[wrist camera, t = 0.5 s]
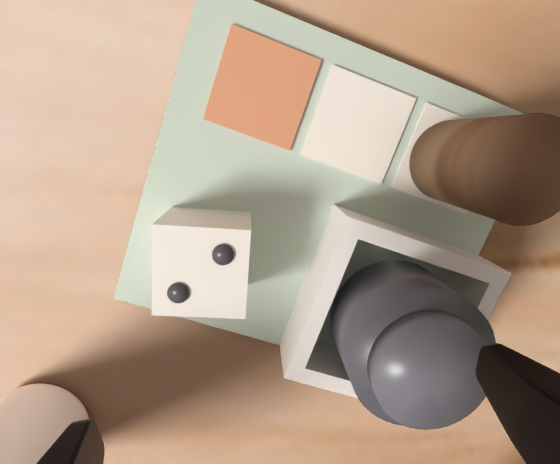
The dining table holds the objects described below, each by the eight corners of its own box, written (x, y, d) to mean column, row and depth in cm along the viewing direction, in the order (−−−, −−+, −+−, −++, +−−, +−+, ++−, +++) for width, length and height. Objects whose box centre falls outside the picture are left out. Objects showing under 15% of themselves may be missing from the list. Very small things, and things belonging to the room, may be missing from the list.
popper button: (467, 280, 19) (540, 330, 14) (417, 382, 20) (469, 459, 15) (357, 244, 18) (394, 282, 13) (312, 352, 19) (332, 423, 15)
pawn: (499, 136, 19) (603, 136, 14) (464, 210, 20) (549, 239, 14) (429, 108, 19) (507, 95, 13) (396, 185, 20) (457, 206, 14)
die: (251, 211, 20) (251, 231, 16) (246, 284, 21) (245, 320, 17) (172, 206, 19) (150, 224, 15) (170, 281, 20) (151, 316, 16)
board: (532, 122, 20) (598, 118, 17) (410, 376, 24) (441, 422, 20) (204, -15, 18) (190, -57, 14) (118, 292, 21) (88, 327, 17)
